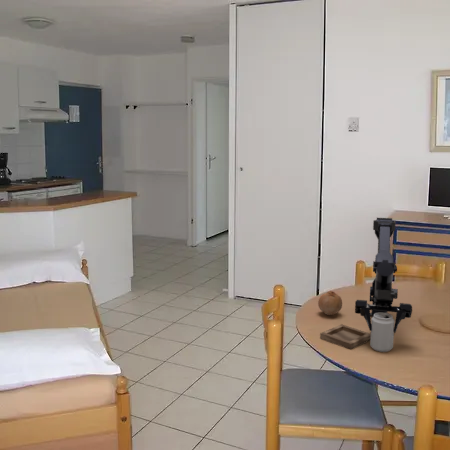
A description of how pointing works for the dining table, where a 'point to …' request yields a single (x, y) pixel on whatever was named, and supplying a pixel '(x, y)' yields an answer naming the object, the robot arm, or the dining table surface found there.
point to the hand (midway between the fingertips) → (382, 331)
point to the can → (382, 332)
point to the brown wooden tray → (345, 336)
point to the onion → (330, 303)
